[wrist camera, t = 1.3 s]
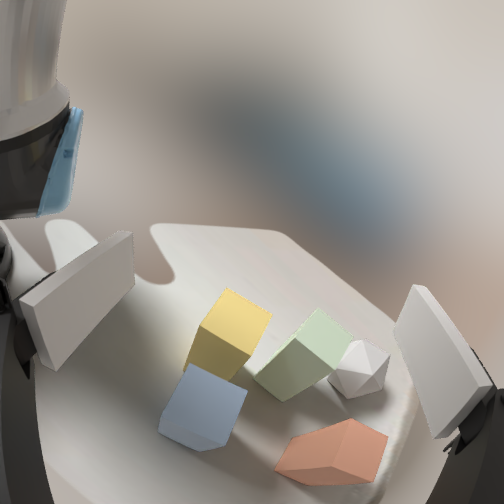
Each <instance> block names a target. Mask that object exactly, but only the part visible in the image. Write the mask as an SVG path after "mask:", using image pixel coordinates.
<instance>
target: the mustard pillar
mask: <svg viewBox="0 0 504 504" xmlns="http://www.w3.org/2000/svg"><path fill="white" fill-rule="evenodd" d="M272 315H273V314H271V313H269V312H267V311H266V310H264V309H262V308H261V307H259V306H257V305H255V304H254V303H252V302H250V301H249V300H247V299H245V298H244V297H242V296H240V295H238V294H237V293H235V292H233V291H232V290H230V289H228V288H226V289H225V290H224V292H223V293H222V294H221V296H220V297H219V299H218V300H217V301H216V303H215V304H214V306H213V307H212V308H211V310H210V311H209V313H208V314H207V315H206V317H205V318H204V320H203V321H202V322H201V324H200V325H199V328H198V330H197V333H196V336H195V339H194V341H193V344H192V347H191V349H190V352H189V355H188V358H187V360H186V363H185V366H184V368H183V371H184V372H185V371H186V369H187V367H188V365H189V363H191V364H193V365H195V366H197V367H199V368H201V369H203V370H205V371H207V372H209V373H211V374H213V375H215V376H217V377H219V378H221V379H224V380H226V381H228V382H229V381H230V380H231V378H232V377H233V376H234V375H235V374H236V373H237V372H238V371H239V370H240V368H241V367H242V366H243V365H244V364H245V363H246V362H247V360H248V359H249V358H250V357H251V356H252V354H253V352H254V350H255V348H256V346H257V344H258V342H259V340H260V339H261V337H262V335H263V333H264V331H265V329H266V327H267V325H268V323H269V321H270V319H271V317H272Z"/></svg>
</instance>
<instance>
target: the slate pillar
mask: <svg viewBox="0 0 504 504" xmlns="http://www.w3.org/2000/svg"><path fill="white" fill-rule="evenodd" d="M247 392H248V390H245V389H243V388H241V387H239V386H237V385H234V384H232V383H230V382H228V381H226V380H224V379H221V378H219V377H217V376H215V375H213V374H211V373H209V372H207V371H205V370H203V369H201V368H199V367H197V366H195V365H193V364H191V363H189V365H188V367H187V369H186V371H185V372H184V374H183V376H182V378H181V380H180V382H179V383H178V385H177V387H176V389H175V391H174V393H173V395H172V396H171V398H170V400H169V402H168V404H167V406H166V407H165V409H164V411H163V413H162V415H161V417H160V422H159V427H158V431H157V432H158V433H160V434H162V435H164V436H166V437H168V438H170V439H172V440H174V441H176V442H178V443H180V444H182V445H184V446H187V447H189V448H191V449H193V450H196V451H198V452H201V451H206V450H211V449H215V448H219V447H223V446H225V445H226V443H227V440H228V438H229V436H230V433H231V431H232V429H233V426H234V424H235V422H236V419H237V417H238V414H239V412H240V409H241V407H242V405H243V402H244V400H245V397H246V395H247Z"/></svg>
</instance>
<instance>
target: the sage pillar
mask: <svg viewBox="0 0 504 504" xmlns="http://www.w3.org/2000/svg"><path fill="white" fill-rule="evenodd" d="M353 337H354V336H352V335H351V334H350V333H349V332H348V331H346V330H345V329H344V328H343V327H341V326H340V325H339V324H338V323H337V322H335V321H334V320H333V319H332V318H330V317H329V316H328V315H327V314H326V313H324V312H323V311H322V310H321V309H319V308H317V309H316V310H315V311H314V312H313V313H312V314H311V315H310V317H309V318H308V319H307V320H306V321H305V322H304V323H303V324H302V325H301V326H300V327H299V328H298V329H297V330H296V332H295V333H294V334H293V335H292V336H291V337H290V338H289V339H288V340H287V341H286V342H285V343H284V344H283V345H282V346H281V347H280V348H279V349H278V350H277V351H276V352H275V353H274V354H273V355H272V357H271V358H270V359H269V360H268V361H267V362H266V364H265V365H264V366H263V367H262V368H261V369H260V370H259V372H258V373H257V374H256V375H255V376H254V377H253V379H254V380H255V381H256V382H257V383H259V384H260V385H261V386H262V387H264V388H265V389H266V390H267V391H268V392H270V393H271V394H272V395H273V396H275V397H276V398H277V399H279V400H280V401H281V402H284V401H286V400H288V399H289V398H291V397H293V396H295V395H296V394H298V393H300V392H301V391H303V390H305V389H306V388H308V387H310V386H311V385H313V384H314V383H316V382H318V381H319V380H321V379H322V378H324V377H325V376H327V375H328V374H330V373H332V372H333V371H335V369H336V368H337V366H338V364H339V362H340V361H341V359H342V357H343V355H344V353H345V352H346V350H347V348H348V346H349V344H350V342H351V341H352V339H353Z"/></svg>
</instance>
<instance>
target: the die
mask: <svg viewBox="0 0 504 504" xmlns="http://www.w3.org/2000/svg"><path fill="white" fill-rule="evenodd" d="M390 355H391V354H389V353H387V352H386V351H384V350H383V349H381V348H380V347H378V346H377V345H375V344H374V343H372V342H371V341H369V340H368V339H362V340H358V341H353V342H350V344H349V346H348V348H347V350H346V352H345V353H344V355H343V357H342V359H341V361H340V362H339V364H338V366H337V368H336V369H335V371H333V372H332V373H330V374H328V376H327V380H328V381H329V382H330V383H331V384H332V385H333V386H334V387H335V388H336V389H337V390H338V391H340V392H341V393H342V394H343V395H344V396H345V397H346V398H347V399H351V398H355V397H359V396H362V395H366V394H370V393H373V392H377V391H380V390H382V387H383V384H384V380H385V376H386V372H387V368H388V364H389V359H390Z"/></svg>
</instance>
